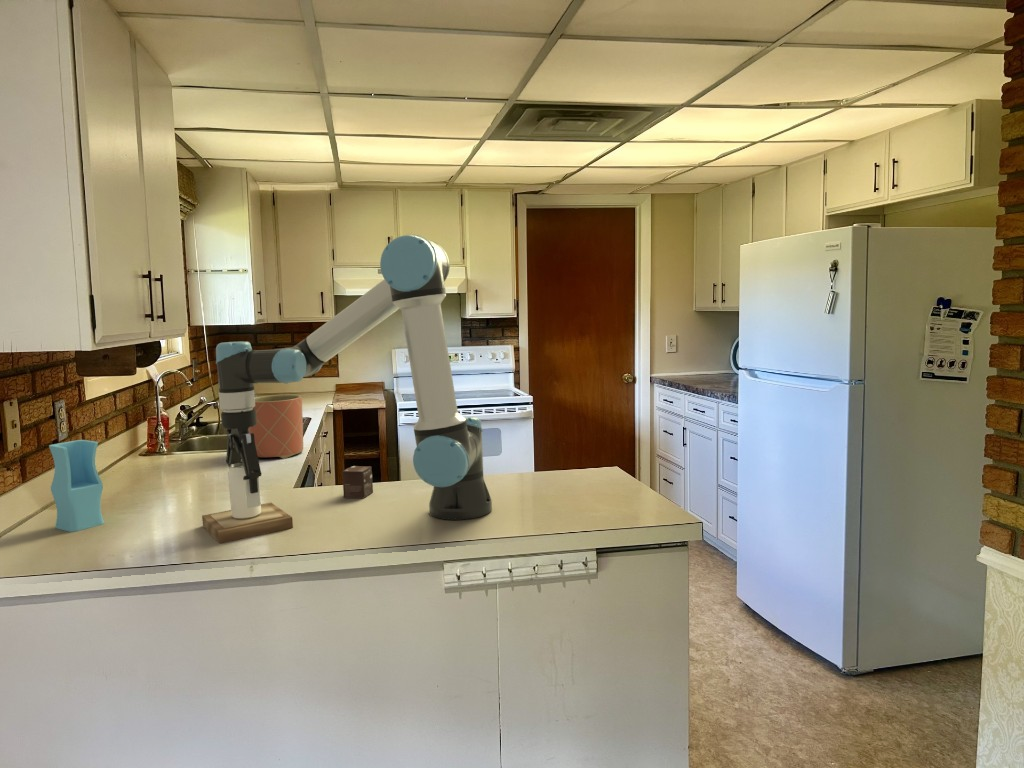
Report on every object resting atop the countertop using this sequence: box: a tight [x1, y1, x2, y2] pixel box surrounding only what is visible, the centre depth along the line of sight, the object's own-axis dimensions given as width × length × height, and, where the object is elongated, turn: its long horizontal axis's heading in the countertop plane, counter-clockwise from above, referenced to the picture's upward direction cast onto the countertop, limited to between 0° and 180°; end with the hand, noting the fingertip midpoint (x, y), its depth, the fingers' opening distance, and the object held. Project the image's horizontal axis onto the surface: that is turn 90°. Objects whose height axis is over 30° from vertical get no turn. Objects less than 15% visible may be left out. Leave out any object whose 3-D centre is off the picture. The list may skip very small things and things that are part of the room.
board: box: [201, 502, 294, 544], centre depth 161 cm, size 16×16×3 cm
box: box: [341, 465, 374, 499], centre depth 185 cm, size 6×6×7 cm
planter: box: [248, 394, 304, 460], centre depth 241 cm, size 19×19×20 cm
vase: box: [48, 439, 105, 533], centre depth 165 cm, size 8×8×20 cm
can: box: [227, 463, 262, 519], centre depth 160 cm, size 6×6×12 cm
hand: (245, 500), depth 160 cm, fingers open, 13 cm apart
